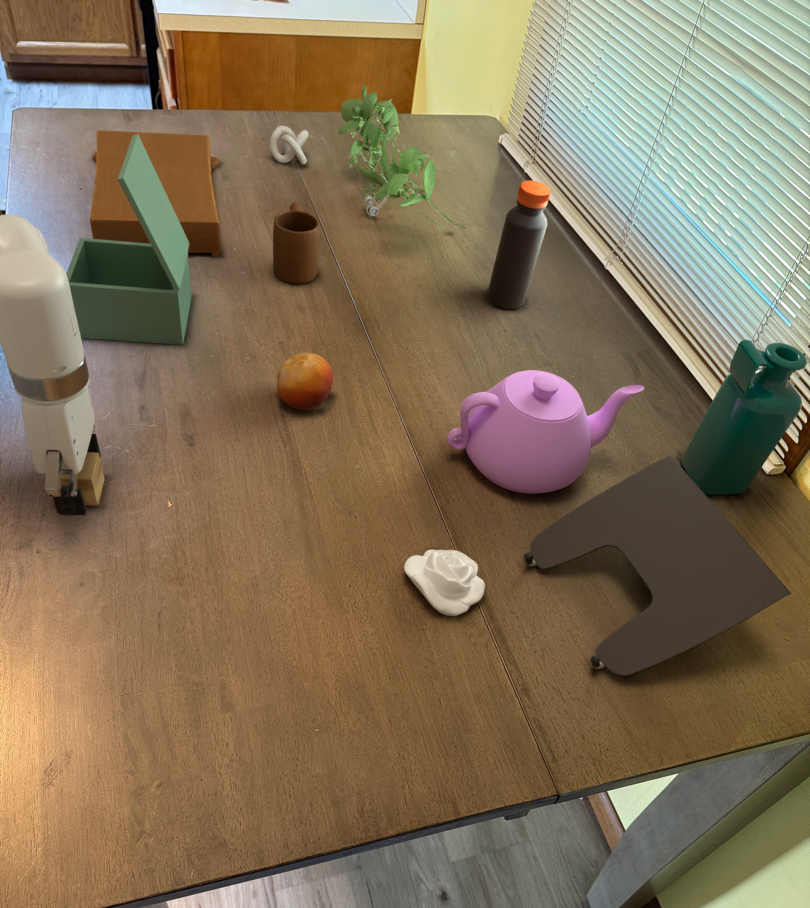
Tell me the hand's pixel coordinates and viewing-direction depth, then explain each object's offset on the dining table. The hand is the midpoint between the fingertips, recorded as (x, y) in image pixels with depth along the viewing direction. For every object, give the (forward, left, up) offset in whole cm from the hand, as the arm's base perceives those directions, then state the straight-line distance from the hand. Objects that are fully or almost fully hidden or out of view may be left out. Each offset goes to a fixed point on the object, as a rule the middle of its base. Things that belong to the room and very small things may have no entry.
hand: (80, 484), depth 94 cm
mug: (+25, +55, -1) cm, 60 cm away
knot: (+23, +95, -1) cm, 98 cm away
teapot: (+59, +10, -1) cm, 60 cm away
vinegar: (+62, +50, -1) cm, 80 cm away
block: (0, 0, -1) cm, 1 cm away
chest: (+1, +37, -1) cm, 37 cm away
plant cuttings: (+44, +77, -1) cm, 89 cm away
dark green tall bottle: (+86, +8, -1) cm, 86 cm away
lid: (+6, +37, +16) cm, 41 cm away
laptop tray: (+67, -14, -1) cm, 68 cm away
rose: (+44, -13, -1) cm, 46 cm away
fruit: (+27, +20, -1) cm, 34 cm away
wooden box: (0, +72, -1) cm, 72 cm away
